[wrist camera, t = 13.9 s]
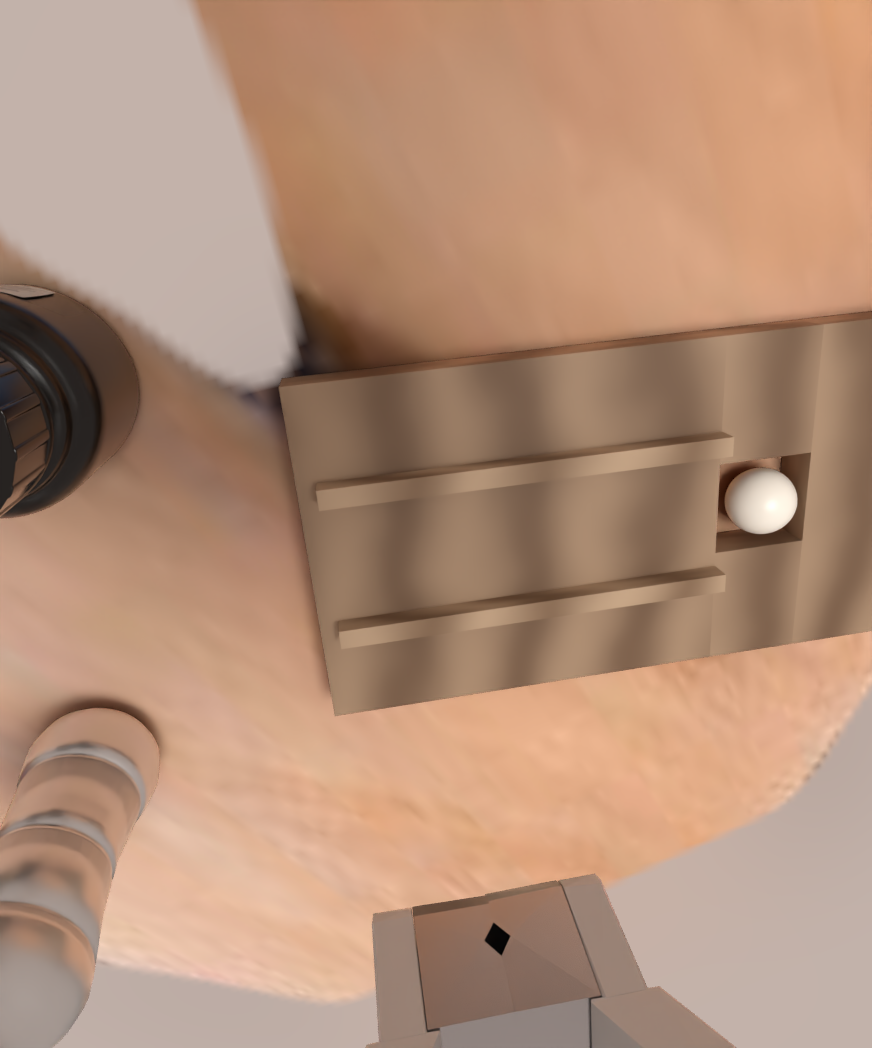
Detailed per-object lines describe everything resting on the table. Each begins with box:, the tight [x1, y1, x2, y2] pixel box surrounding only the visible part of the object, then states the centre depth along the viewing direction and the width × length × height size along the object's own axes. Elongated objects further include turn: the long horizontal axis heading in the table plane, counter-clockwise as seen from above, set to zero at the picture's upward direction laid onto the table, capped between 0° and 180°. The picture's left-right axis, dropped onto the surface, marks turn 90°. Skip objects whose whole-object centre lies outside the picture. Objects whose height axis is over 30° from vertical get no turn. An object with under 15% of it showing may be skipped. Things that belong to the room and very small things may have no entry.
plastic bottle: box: [0, 708, 160, 1048], centre depth 31 cm, size 6×7×20 cm
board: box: [279, 311, 872, 716], centre depth 38 cm, size 32×18×4 cm, turn 95°
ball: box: [725, 468, 797, 534], centre depth 39 cm, size 4×4×4 cm
